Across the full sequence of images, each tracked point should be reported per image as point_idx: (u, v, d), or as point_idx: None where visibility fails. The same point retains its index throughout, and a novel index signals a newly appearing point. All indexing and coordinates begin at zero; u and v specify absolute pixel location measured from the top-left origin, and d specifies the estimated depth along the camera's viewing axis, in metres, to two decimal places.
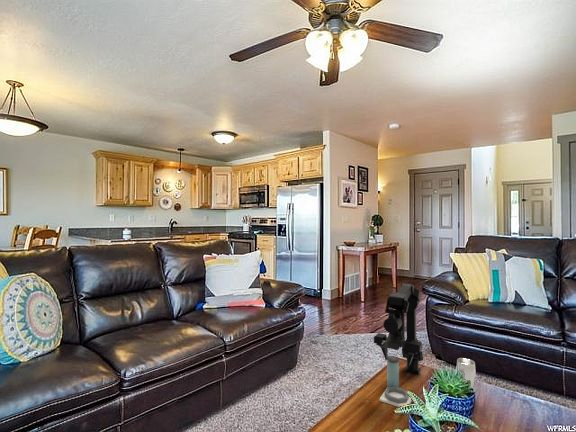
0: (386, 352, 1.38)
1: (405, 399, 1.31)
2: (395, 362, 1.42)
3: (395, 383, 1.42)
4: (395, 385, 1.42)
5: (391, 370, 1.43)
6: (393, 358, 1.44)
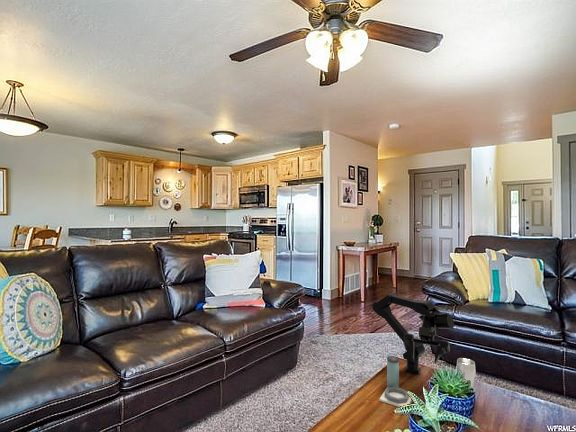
0: (413, 351, 1.46)
1: (405, 399, 1.31)
2: (395, 362, 1.42)
3: (395, 383, 1.42)
4: (395, 385, 1.42)
5: (391, 370, 1.43)
6: (393, 358, 1.44)
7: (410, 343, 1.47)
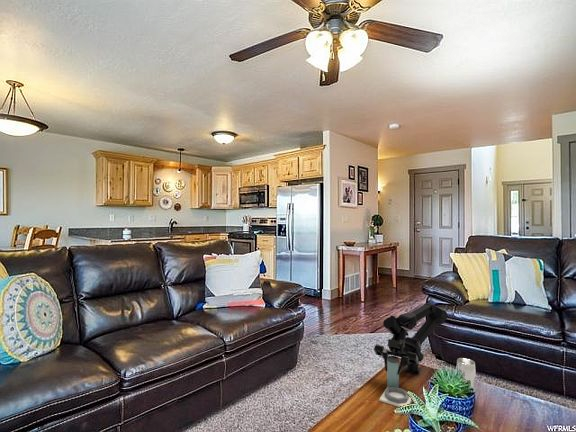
0: None
1: (405, 399, 1.31)
2: (395, 362, 1.42)
3: (395, 383, 1.42)
4: (395, 385, 1.42)
5: (391, 370, 1.43)
6: (393, 358, 1.44)
7: (384, 356, 1.48)
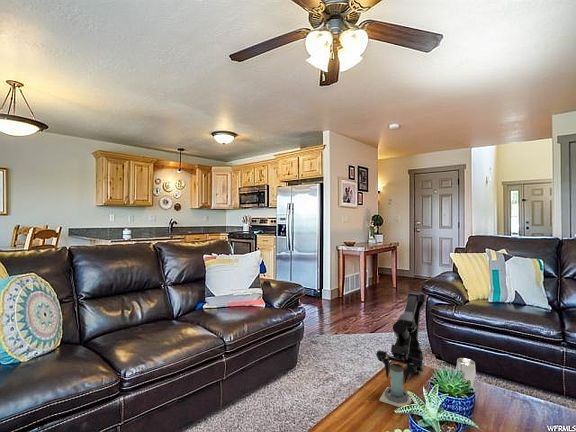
0: (388, 370, 1.38)
1: (405, 399, 1.31)
2: (399, 371, 1.32)
3: (399, 393, 1.32)
4: (399, 395, 1.33)
5: (395, 380, 1.33)
6: (397, 366, 1.35)
7: (385, 362, 1.39)
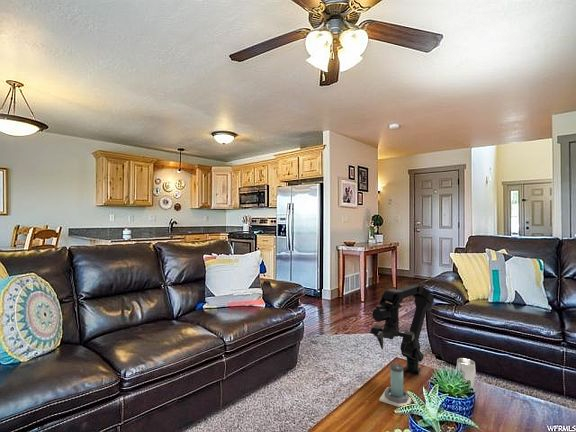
0: (382, 342, 1.53)
1: (405, 399, 1.31)
2: (399, 371, 1.32)
3: (399, 393, 1.33)
4: (399, 395, 1.33)
5: (395, 380, 1.33)
6: (397, 366, 1.35)
7: (377, 337, 1.52)
